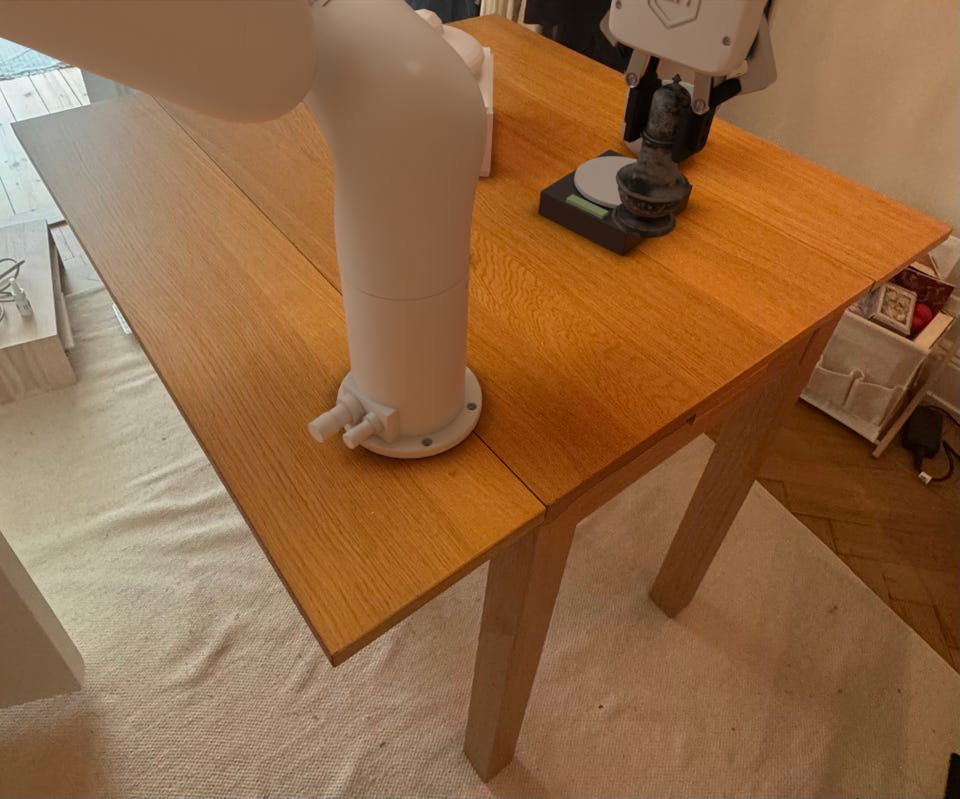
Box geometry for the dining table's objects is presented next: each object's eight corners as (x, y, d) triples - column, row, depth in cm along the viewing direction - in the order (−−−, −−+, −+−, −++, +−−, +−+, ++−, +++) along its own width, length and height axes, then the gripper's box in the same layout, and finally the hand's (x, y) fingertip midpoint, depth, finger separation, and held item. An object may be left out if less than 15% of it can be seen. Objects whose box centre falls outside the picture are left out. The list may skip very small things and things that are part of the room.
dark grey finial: (677, 203, 63) (715, 60, 54) (681, 243, 59) (724, 95, 50) (608, 196, 63) (635, 53, 54) (608, 235, 59) (637, 87, 50)
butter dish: (489, 177, 92) (497, 45, 80) (345, 169, 91) (332, 36, 80) (491, 112, 104) (497, -11, 92) (363, 105, 103) (354, -18, 92)
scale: (622, 256, 81) (628, 227, 78) (537, 213, 86) (541, 184, 84) (686, 207, 89) (694, 179, 86) (605, 170, 94) (610, 142, 91)
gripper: (578, -166, 44) (546, 124, 58) (838, -109, 37) (732, 208, 50) (647, -179, 48) (602, 95, 62) (895, -130, 41) (782, 170, 54)
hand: (661, 144), depth 56 cm, fingers closed on dark grey finial, 3 cm apart
